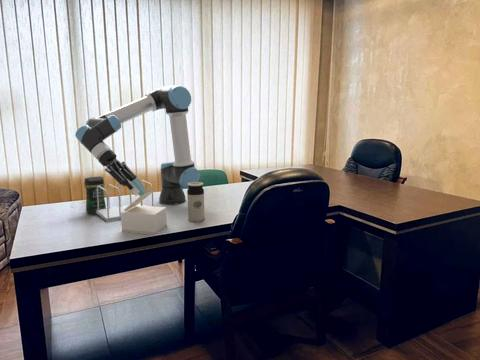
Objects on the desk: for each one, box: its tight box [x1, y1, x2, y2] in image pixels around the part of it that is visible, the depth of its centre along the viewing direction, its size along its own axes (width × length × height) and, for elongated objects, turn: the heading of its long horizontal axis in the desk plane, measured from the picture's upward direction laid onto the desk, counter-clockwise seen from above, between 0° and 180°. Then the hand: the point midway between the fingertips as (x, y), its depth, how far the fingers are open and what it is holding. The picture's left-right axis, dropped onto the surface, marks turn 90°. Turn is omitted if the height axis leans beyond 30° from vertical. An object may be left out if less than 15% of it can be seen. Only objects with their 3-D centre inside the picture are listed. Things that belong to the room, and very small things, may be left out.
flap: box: [124, 177, 152, 211], centre depth 168 cm, size 11×10×9 cm
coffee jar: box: [83, 176, 107, 214], centre depth 196 cm, size 10×8×19 cm
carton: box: [120, 205, 168, 236], centre depth 169 cm, size 16×12×9 cm
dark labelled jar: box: [186, 181, 205, 223], centre depth 182 cm, size 8×8×18 cm
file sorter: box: [95, 179, 154, 222], centre depth 193 cm, size 25×17×16 cm
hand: (140, 192), depth 167 cm, fingers closed on flap, 3 cm apart
